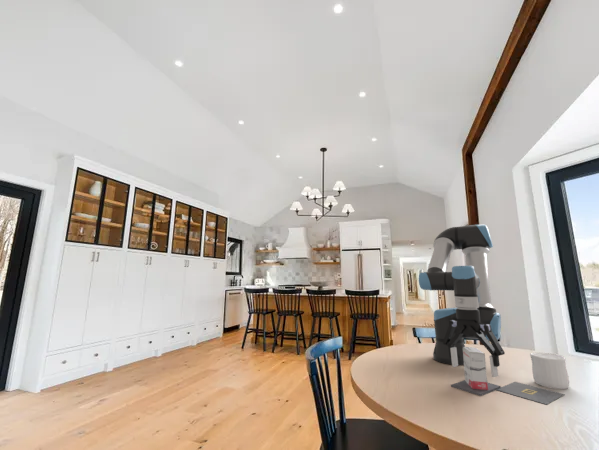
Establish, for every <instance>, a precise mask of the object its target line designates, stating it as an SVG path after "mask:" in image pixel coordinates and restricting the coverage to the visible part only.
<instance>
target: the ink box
mask: <svg viewBox="0 0 599 450" xmlns="http://www.w3.org/2000/svg"><path fill="white" fill-rule="evenodd" d="M463 359H464V365H463V371H464V380H465V381H466V382H467V383H468V385H469V386H470V387H471V388H472V389H479V390H488V385H487V382H488V376H487V374H488V373H487V365H486V354H485V353H484V352H483V351H481V350H480V349H478V347H472V346H465V347H463Z"/></svg>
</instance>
